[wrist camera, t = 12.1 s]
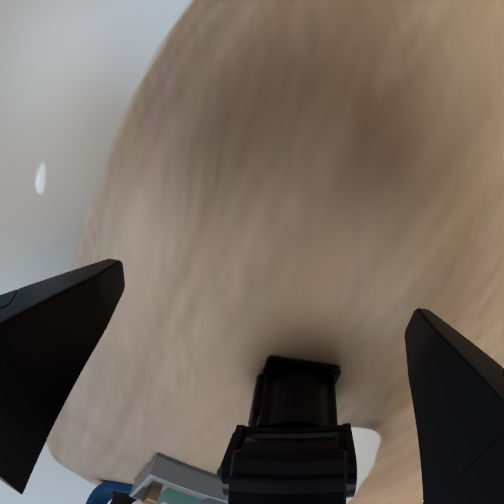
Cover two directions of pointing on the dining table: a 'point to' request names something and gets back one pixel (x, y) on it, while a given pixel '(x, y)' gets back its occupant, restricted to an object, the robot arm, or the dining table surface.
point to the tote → (179, 480)
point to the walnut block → (152, 493)
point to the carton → (177, 495)
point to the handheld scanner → (111, 493)
